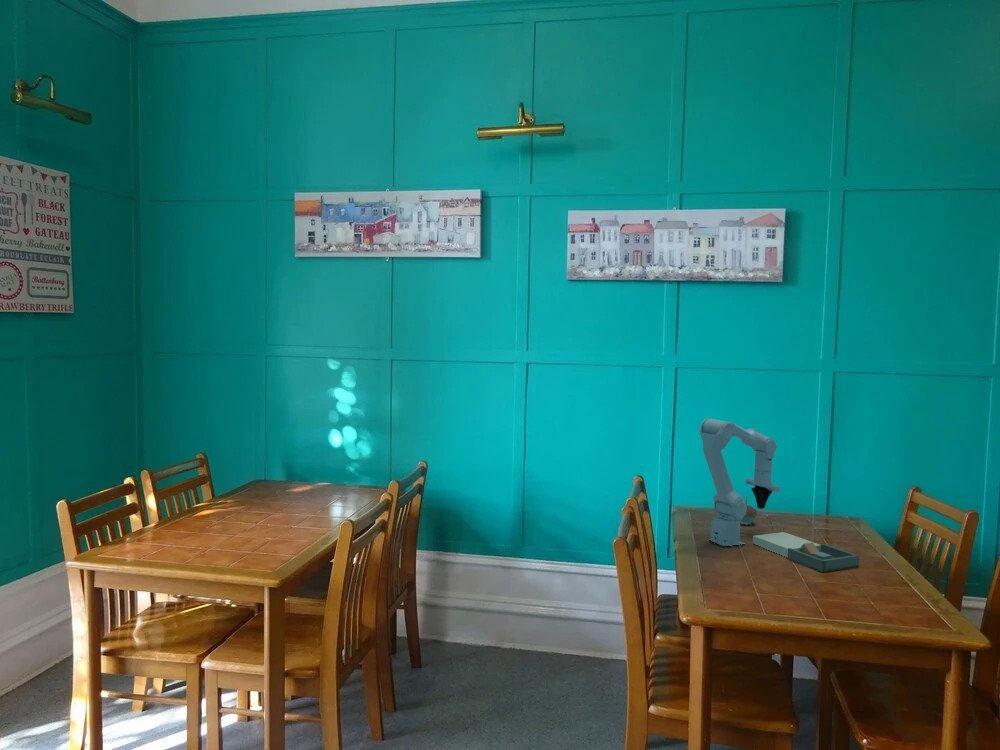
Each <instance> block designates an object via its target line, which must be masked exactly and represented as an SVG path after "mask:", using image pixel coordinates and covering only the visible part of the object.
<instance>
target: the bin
mask: <svg viewBox="0 0 1000 750" xmlns="http://www.w3.org/2000/svg"><path fill="white" fill-rule="evenodd" d="M820 545H821V552H823V553H826V554H829V555H832V559H825V560H822V559H819V558H816V557H813V556H811V555H808V554H805V553H803V552H800V551H797V550H795V549H792V548H788V558H787V560H789V561H792V562H794V563H797V564H800V565H803V566H805V567H807V568H810V569H813V570H815V571H817V572H820V573H827V572H834V571H835V572H836V571H840V570H848V569H853V568H859V567H860V565H859V564H860V555H858V554H856V553H852V552H850V551H847V550H843V549H841V548H838V547H835V546H831V545H829V544H825V543H821V544H820Z"/></svg>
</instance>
